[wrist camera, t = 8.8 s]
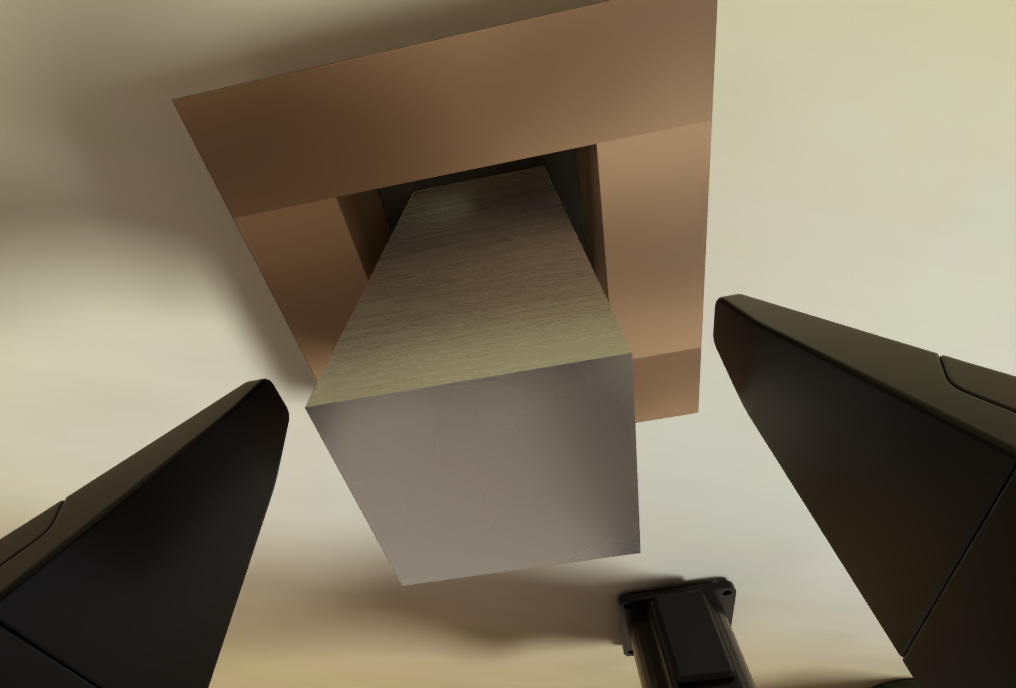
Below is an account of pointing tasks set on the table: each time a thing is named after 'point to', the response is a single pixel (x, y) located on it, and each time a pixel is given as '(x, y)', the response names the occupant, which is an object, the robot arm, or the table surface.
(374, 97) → the block
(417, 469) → the grey long rectangular block
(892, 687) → the potion bottle
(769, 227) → the table surface
